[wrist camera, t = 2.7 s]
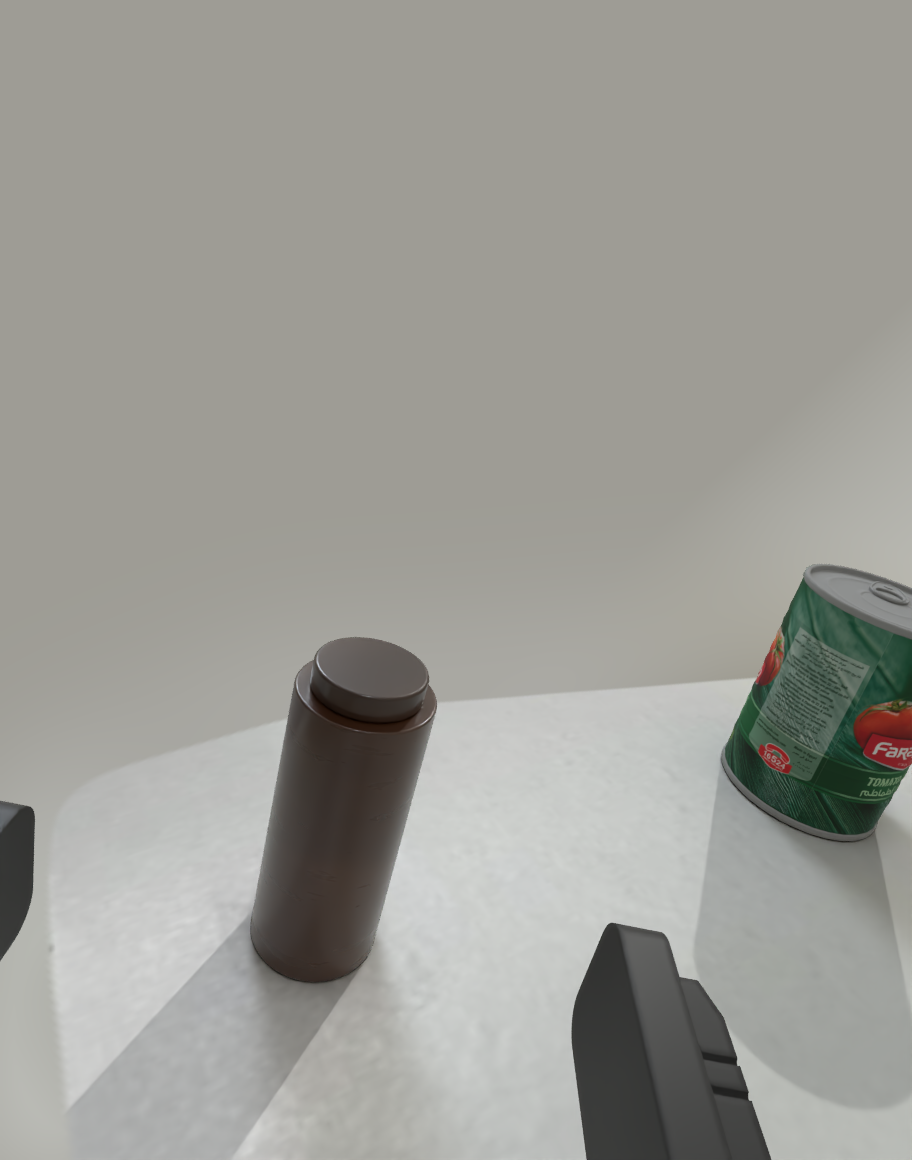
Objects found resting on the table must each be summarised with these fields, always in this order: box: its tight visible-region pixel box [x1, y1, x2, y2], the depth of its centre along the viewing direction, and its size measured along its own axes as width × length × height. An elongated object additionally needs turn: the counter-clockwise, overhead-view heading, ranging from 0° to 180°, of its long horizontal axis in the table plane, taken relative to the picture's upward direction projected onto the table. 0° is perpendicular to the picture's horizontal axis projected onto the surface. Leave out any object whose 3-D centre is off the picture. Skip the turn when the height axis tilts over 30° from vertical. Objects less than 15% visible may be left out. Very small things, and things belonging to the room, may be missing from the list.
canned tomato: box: [722, 564, 912, 841], centre depth 37 cm, size 8×8×11 cm
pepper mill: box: [251, 637, 437, 982], centre depth 23 cm, size 4×4×10 cm
